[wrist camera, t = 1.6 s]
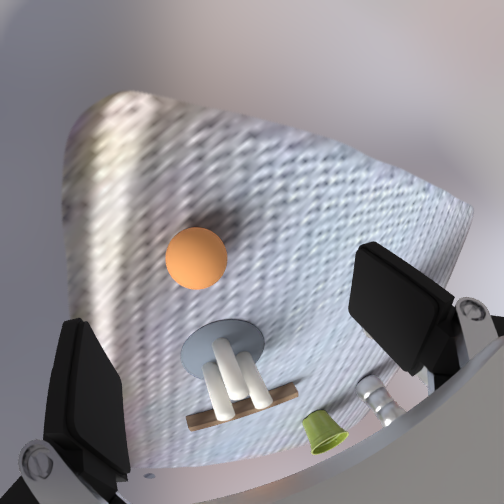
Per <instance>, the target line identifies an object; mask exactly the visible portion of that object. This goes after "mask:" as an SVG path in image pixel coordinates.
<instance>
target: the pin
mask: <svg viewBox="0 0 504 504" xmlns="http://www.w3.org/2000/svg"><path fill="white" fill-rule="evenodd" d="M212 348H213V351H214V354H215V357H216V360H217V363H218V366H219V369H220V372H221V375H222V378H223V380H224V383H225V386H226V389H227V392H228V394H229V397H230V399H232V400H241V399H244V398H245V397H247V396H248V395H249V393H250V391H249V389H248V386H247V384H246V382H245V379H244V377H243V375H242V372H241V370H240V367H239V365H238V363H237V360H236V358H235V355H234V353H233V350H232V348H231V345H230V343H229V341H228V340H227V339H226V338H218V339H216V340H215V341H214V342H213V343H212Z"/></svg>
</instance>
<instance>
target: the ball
mask: <svg viewBox="0 0 504 504" xmlns="http://www.w3.org/2000/svg"><path fill="white" fill-rule="evenodd" d="M166 265H167V269H168V271H169V273H170V275H171V277H172V278H173V279H174V280H175V281H176V282H177V283H178V284H180V285H181V286H183V287H186V288H189V289H204V288H207V287H210V286H212V285H213V284H215V283H216V282H217V281H218V280H219V279H220V278H221V277H222V275H223V273H224V271H225V269H226V265H227V252H226V248H225V246H224V244H223V242H222V240H221V239H220V238H219V237H218V236H217V235H216V234H215V233H213V232H212V231H210V230H208V229H205V228H200V227H193V228H188V229H185V230H183V231H181V232H179V233H178V234H177V235H176V236H175V237H174V238H173V239H172V240H171V242H170V243H169V245H168V248H167V251H166Z"/></svg>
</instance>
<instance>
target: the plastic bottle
mask: <svg viewBox="0 0 504 504" xmlns="http://www.w3.org/2000/svg"><path fill="white" fill-rule="evenodd" d="M356 393H357V395H358V397H359V398H360V399H361V400H362V401H363V402H364V403H366V405H367V406H368V407H369V408H370V409H371V410H372V411H373V412H374V414H375V415H376V417H377V418H378V420H379V421H380V423H381V425H382V427H383V428H384V427H386V426H387V425H389V424H390V423H392V422H393V421H395V420H396V419H398V418H399V417H401V416H402V415H404V414H405V413H406V411H405V410H404V409H403V408H402V407H401V406H399V405H398V403H397V402H396V401H394V399H393V398H392V397H391V395H390V394H389V393H388V391H387V390H386V388H385V386H384V384H383V382H382V381H381V379H380V378H378V377H377V376H375V375H369V376H367V377H365V378H364V379H362V380H361V381H360V382H359V383H358V385H357V386H356Z"/></svg>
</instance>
